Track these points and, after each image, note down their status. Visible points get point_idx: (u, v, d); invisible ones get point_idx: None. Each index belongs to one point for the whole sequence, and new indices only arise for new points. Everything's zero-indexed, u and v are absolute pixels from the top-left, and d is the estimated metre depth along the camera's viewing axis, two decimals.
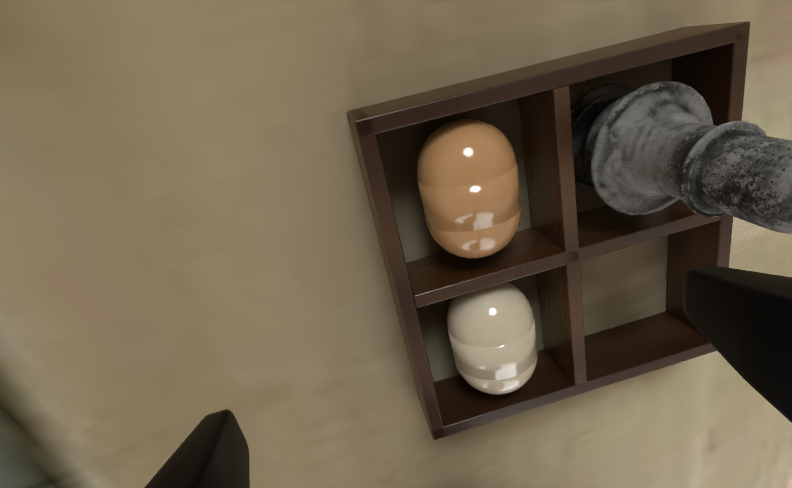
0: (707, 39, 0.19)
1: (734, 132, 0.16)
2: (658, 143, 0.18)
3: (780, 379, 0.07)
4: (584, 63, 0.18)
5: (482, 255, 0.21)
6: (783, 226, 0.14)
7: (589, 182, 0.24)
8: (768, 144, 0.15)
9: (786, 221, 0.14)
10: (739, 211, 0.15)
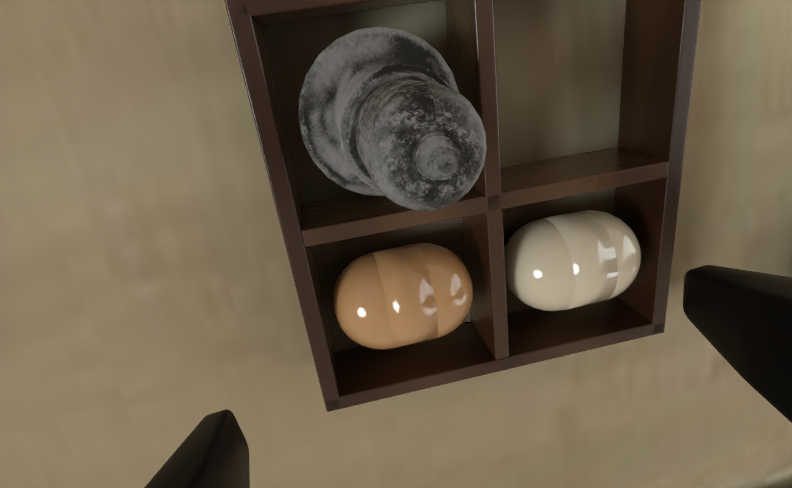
0: (248, 62, 0.15)
1: (352, 141, 0.13)
2: None
3: (780, 379, 0.07)
4: (278, 215, 0.17)
5: (468, 305, 0.20)
6: (468, 189, 0.11)
7: None
8: (364, 162, 0.11)
9: (461, 192, 0.10)
10: None
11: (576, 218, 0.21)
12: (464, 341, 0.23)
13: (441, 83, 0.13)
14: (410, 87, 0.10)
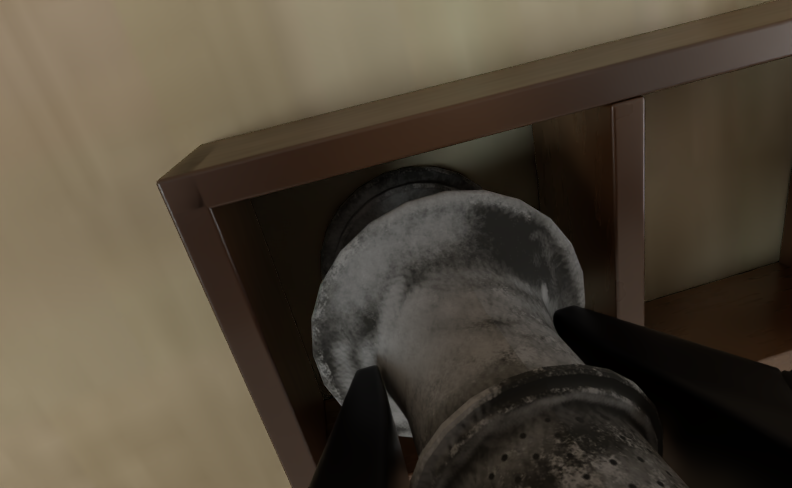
0: (215, 281, 0.08)
1: None
2: None
3: None
4: (292, 485, 0.11)
5: None
6: None
7: None
8: None
9: None
10: None
11: None
12: None
13: (628, 393, 0.06)
14: None
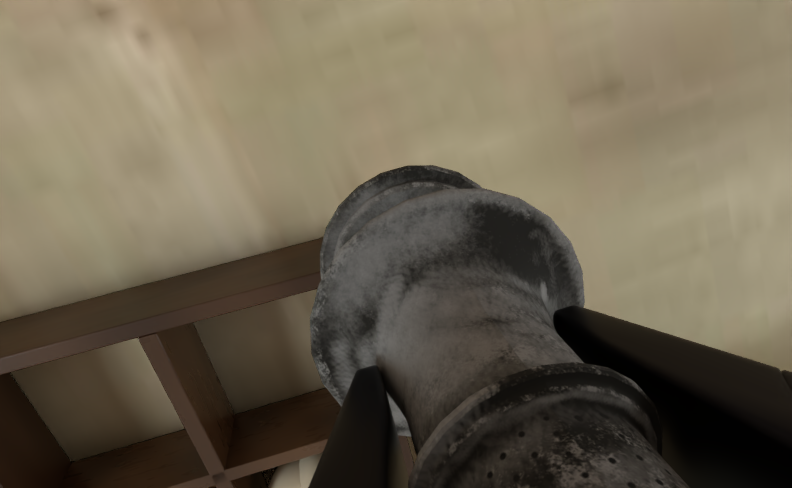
0: None
1: None
2: None
3: None
4: None
5: None
6: None
7: None
8: None
9: None
10: None
11: None
12: None
13: (627, 392, 0.06)
14: None
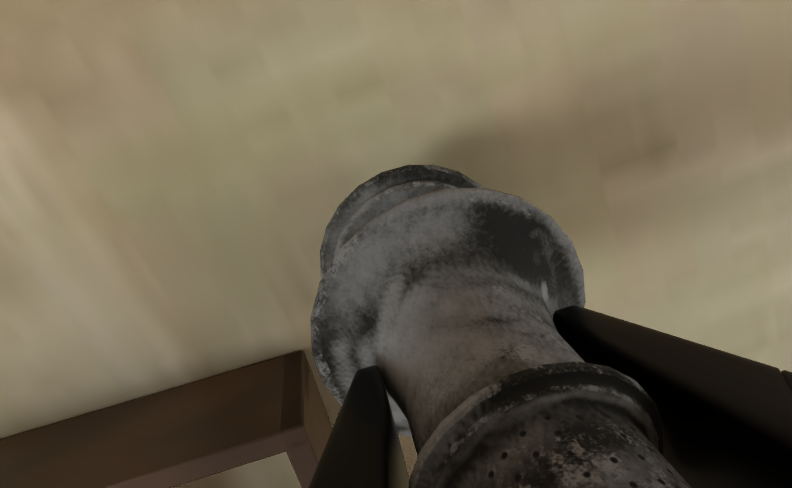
0: None
1: None
2: None
3: None
4: None
5: None
6: None
7: None
8: None
9: None
10: None
11: None
12: None
13: (629, 391, 0.06)
14: None
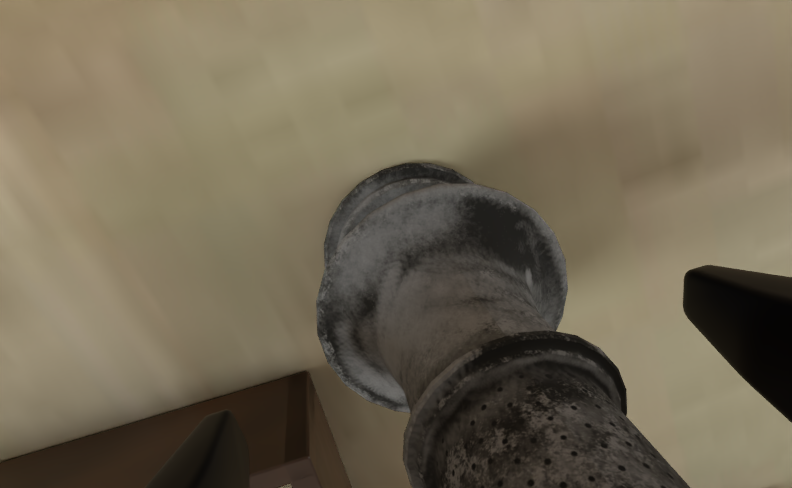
0: None
1: (430, 476, 0.07)
2: None
3: (780, 379, 0.07)
4: None
5: None
6: None
7: None
8: None
9: None
10: None
11: None
12: None
13: (593, 356, 0.07)
14: None
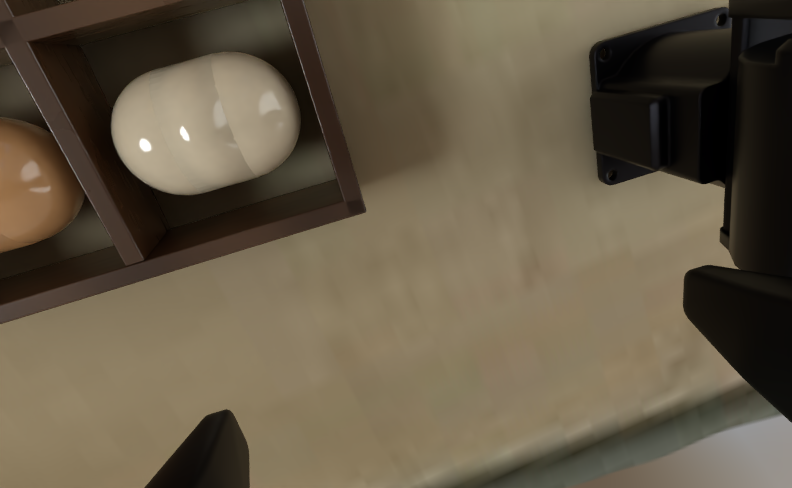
0: None
1: None
2: None
3: (780, 379, 0.07)
4: None
5: (37, 188, 0.15)
6: None
7: None
8: None
9: None
10: None
11: (188, 60, 0.15)
12: None
13: None
14: None
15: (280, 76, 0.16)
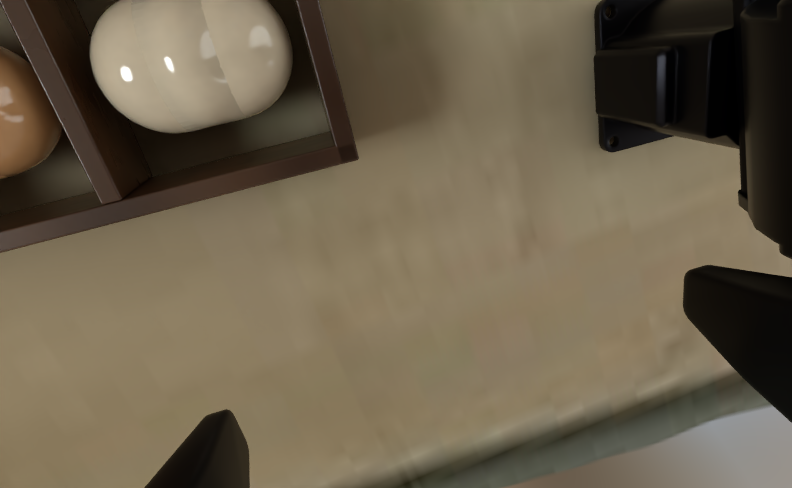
0: None
1: None
2: None
3: (780, 379, 0.07)
4: None
5: (7, 112, 0.14)
6: None
7: None
8: None
9: None
10: None
11: None
12: (98, 196, 0.17)
13: None
14: None
15: (272, 8, 0.15)
